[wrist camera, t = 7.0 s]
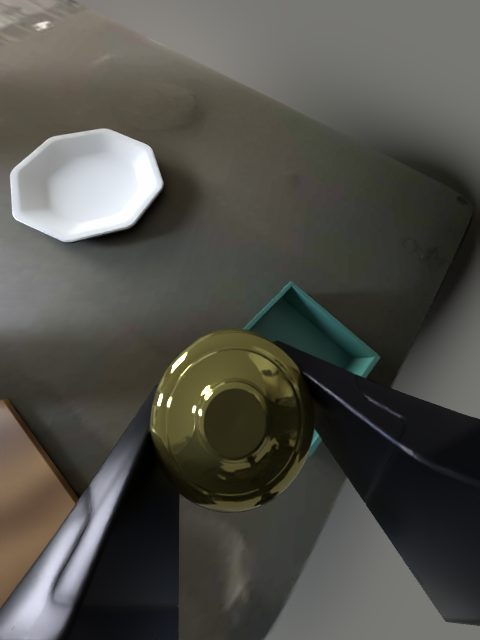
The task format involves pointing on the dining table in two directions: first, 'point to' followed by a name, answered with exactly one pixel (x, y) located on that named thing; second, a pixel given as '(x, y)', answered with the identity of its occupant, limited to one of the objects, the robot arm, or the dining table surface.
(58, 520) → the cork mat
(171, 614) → the robot arm
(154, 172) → the plate
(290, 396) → the brass door knob
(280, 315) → the storage box
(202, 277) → the dining table surface
